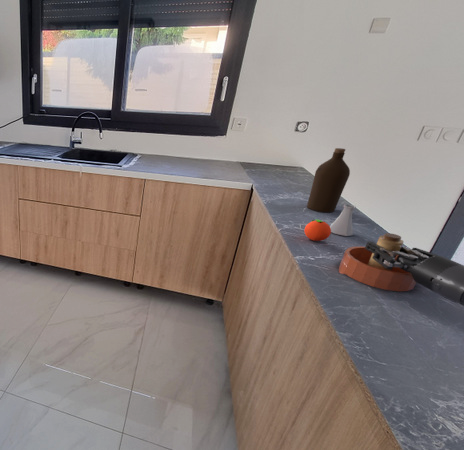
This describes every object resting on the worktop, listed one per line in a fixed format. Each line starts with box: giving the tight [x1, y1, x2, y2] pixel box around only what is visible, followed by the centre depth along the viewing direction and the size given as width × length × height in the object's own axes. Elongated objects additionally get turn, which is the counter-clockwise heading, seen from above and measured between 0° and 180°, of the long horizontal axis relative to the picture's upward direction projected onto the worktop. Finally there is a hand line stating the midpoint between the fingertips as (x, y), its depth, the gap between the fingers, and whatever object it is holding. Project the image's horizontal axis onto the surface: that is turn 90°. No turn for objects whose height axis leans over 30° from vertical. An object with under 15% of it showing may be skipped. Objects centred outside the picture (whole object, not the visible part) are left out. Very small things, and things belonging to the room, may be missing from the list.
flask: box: [329, 203, 357, 237], centre depth 108 cm, size 7×7×10 cm
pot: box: [338, 245, 417, 292], centre depth 83 cm, size 15×15×6 cm
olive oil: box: [306, 147, 351, 213], centre depth 126 cm, size 11×11×25 cm
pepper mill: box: [368, 232, 404, 271], centre depth 81 cm, size 4×4×10 cm
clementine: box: [303, 219, 332, 242], centre depth 104 cm, size 8×7×7 cm
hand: (376, 244), depth 83 cm, fingers closed on pepper mill, 4 cm apart
